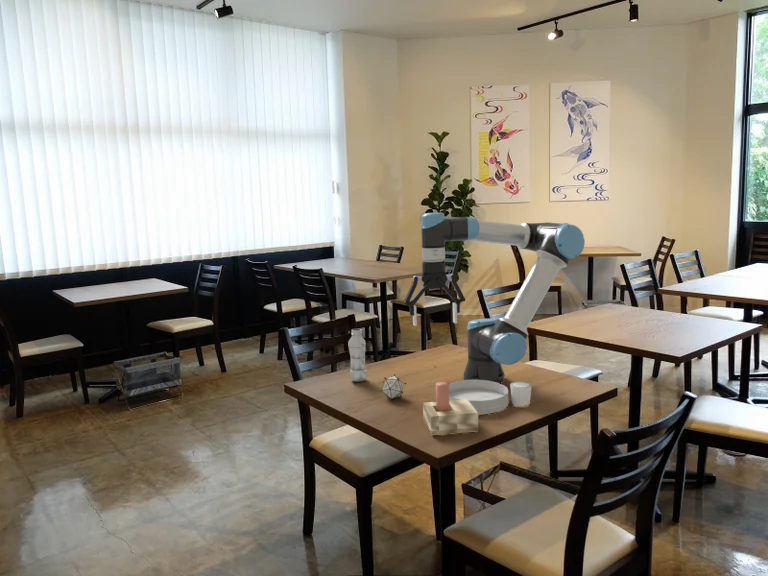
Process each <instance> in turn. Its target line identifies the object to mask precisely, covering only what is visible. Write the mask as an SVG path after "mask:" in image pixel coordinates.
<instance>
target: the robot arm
mask: <svg viewBox="0 0 768 576" xmlns="http://www.w3.org/2000/svg"><path fill="white" fill-rule="evenodd" d="M420 223H421V224H420V232H421V259H422V260H423V261H422V263H421V265H422V266H421V267H422V272H421V273H422V274H421V276H419V275H418V276H417V275H413V276H412V282H411V284H410V286H409V290H408V291H407V294H406V296H405V298H404V300H403V303H404V304H405V305H406V306H408V307H409V316H411V317H412V324H413V326H414V327H417V326H418V319H417V317H418V316H417V306H416V303H417V302H418V301H419V299H421V297H422V295H423V294H424V293H425V292H426V291H427V290H429V289H430V290H433V289H436V290H437V289H441V288H442V289H443V290H444V291H445V293H447V294H448V295H449V297H450V298H451V299H452V300H453V301H454V302H452V323H454V324H458V314H460V313H461V308H460V307H461V303H463V302H465V301H466V298H465V296H464V294H463V292H462V289H461V288H460V286H459V285H458V282H457V280H456V275H455V273H450V274H446V261H445V259H446V249H445V248H446V242H455V241H456V242H457V241H458V242H459V241H470V242H480V243H489V244H499V245H508V246H516V247H517V248H518V249H522V250H527V251H532V252H535V253H536V256H537V258H536V260H535V261H534V264H533V265H532V267H531V269H530V271H529V272H528V274H527V276H526V278H525V279H524V281H523V283H522V285H521V287H520V288H519V290H518V291H517V294H516V296H515V297H514V299H513V300H512V303H511V304H510V306H509V308H508V309H507V311H506V313H505V315H504V316H502V317H499V318H479V319H472V320H470V321H468V323H467V328H466V329H467V330H466V332H467V363H466V365H465V367H464V372H463V380H487V381H493V382H497V383H501V382H503V381H504V379H505V375H506V374H505V371H504V369H503V366H504V365H506V366H510V365H511V366H512V365H515V364H517V363H519V362H520V361H521V360H522V359H523V358H524V357H525V355H526V353H527V341H526V339H527V337H528V336H529V333H528V327H529V325H530V323H531V322H532V319H533V318H534V317H535V314H536V313H537V311H538V309H539V307H540V305H541V303H542V302H543V300H544V298H545V297H546V295H547V293H548V291H549V289H550V287H552V286H551V285H552V283H553V282H554V281H555V279H556V277H557V274H558V273H559V272H560V271H561V269H564V268H567V266H568V264H569V263H570V261H571V259H572V260H573V259H576V258H578V257H579V256H580V255H581V254H582V252H583V250H584V248H585V243H586V242H585V237H584V233H583V231H582V230H581V229H580V228H579V227H578V226H577V225H574V224H571V223H568V222H563V223H560V222H559V223H557V222H532V223H531V222H521V223H520V224H512V223H505V222H498V221H488V220H479V219H477V218H476V217H472V216H470V217H469V216H466V217H465V216H464V217H459V216H458V217H455V216H445V213H444V212H427V213H423V214H422V215H421V221H420ZM447 279H448V281H449V282H450V283H451V285H452V286H453V288H454V290H455V292H456V294H457V296H458V297H457V296H456V294H454V292H453V291H452V290H451V289H450V288H449V287H448V286H447V285H446V284H445V283H446V281H447ZM421 281H422V282H423V284H422V285H421V287H420V289H418V291H417V292H416V294H415V295H414V292H415V290H416V289H417V286H418V284H419V283H420V282H421ZM412 297H413V298H412ZM502 365H503V366H502ZM505 380H506V379H505ZM504 382H505V381H504ZM504 382H503V383H504ZM501 384H502V383H501Z"/></svg>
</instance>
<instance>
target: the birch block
mask: <svg viewBox="0 0 768 576" xmlns="http://www.w3.org/2000/svg"><path fill="white" fill-rule="evenodd" d="M449 405H450V411H443V412H436V401H430V402H428V401H427V402H422V412H423V413H422V414H423V416H422V417H423V419H422V420H423V423H424V425H425V424H426V425H425V427H426V426H427V427H426V428H428V429H427V430H429V431H430V432H429V431H428V432H429V434H430V433H431V434H430V436H431V435H436V434H437V435H438V434H450V433H458V432H469V431H478V432H479V415H478V412H477V411H476V410H475V408H474V407H473V406H472V405H471V403H470V402H469V401H468V400H467V399H463V400H450V401H449Z"/></svg>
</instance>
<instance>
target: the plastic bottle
mask: <svg viewBox="0 0 768 576" xmlns="http://www.w3.org/2000/svg"><path fill="white" fill-rule="evenodd" d="M362 335H363V333H362V329H361V328H352V329H351V337H350V338H349V340H348V341H347V343H348V344H347V345H348V351H349V355H350V370H349V377H350V380H351V381H352V382H355V383H358V382H359V383H361V382H365V381H366V380H367V379H368V371H367V366H366V345H367V344H366V340H365V339H364V337H363V336H362Z"/></svg>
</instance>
